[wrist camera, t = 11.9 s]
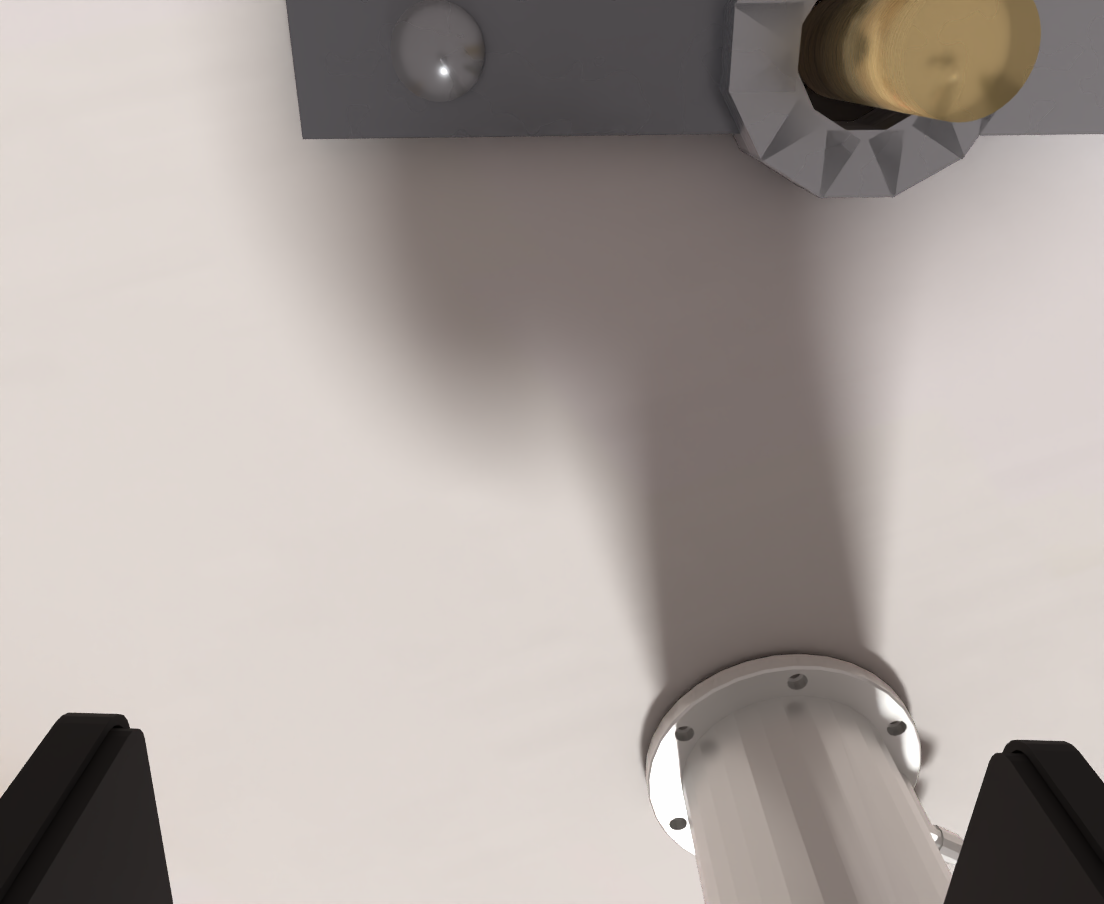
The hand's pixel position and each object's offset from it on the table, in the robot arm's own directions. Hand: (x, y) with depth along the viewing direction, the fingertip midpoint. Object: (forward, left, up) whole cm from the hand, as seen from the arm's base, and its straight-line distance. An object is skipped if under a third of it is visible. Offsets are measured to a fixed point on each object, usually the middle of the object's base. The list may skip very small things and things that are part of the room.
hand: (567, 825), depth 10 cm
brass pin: (-5, -12, -24) cm, 27 cm away
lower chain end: (+1, -8, -24) cm, 26 cm away
